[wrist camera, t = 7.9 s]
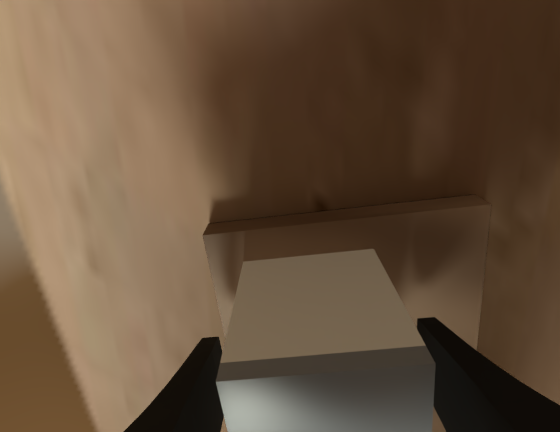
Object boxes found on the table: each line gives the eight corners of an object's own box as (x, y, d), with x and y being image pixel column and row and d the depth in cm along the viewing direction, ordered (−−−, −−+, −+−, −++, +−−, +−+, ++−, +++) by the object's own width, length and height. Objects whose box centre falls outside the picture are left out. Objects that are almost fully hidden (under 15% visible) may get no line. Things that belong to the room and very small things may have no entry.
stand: (453, 461, 20) (505, 578, 15) (261, 474, 20) (254, 591, 16) (475, 194, 14) (570, 249, 9) (208, 223, 15) (173, 289, 10)
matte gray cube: (376, 352, 16) (428, 505, 10) (261, 362, 16) (248, 516, 10) (373, 248, 14) (435, 363, 8) (243, 261, 14) (215, 381, 8)
